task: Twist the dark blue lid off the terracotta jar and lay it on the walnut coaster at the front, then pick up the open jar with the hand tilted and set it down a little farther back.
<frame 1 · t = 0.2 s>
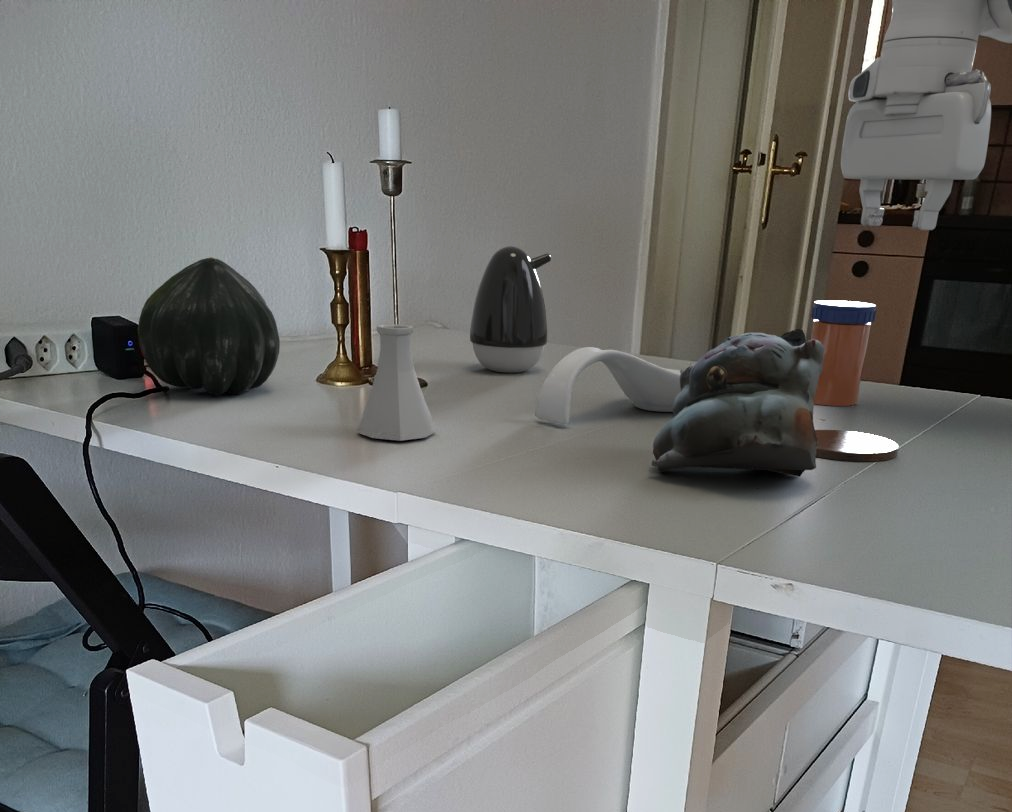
hand: (896, 227, 108), 19 cm above the table, tool pointing down, fingers open, 8 cm apart
spoon rest: (628, 414, 111), on the table
lucky cat figurine: (726, 473, 89), on the table
pump dispenser: (508, 371, 135), on the table
flask: (397, 436, 98), on the table
jar lid: (844, 307, 116), point 11 cm above the table, screwed on, not yet turned
coaster: (842, 449, 98), on the table
jar: (829, 400, 121), on the table
squash: (217, 391, 116), on the table
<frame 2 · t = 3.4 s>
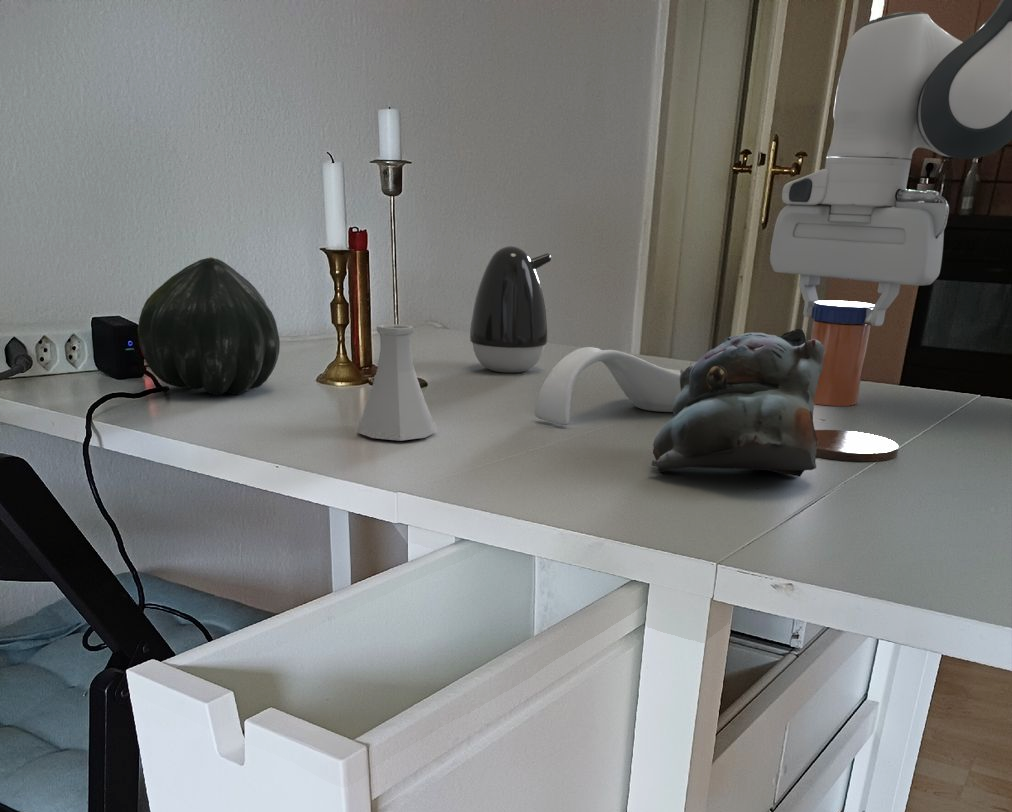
hand: (841, 321, 117), 9 cm above the table, tool pointing down, fingers closed on jar lid, 7 cm apart
jar lid: (844, 307, 116), point 11 cm above the table, screwed on, not yet turned, touching gripper
everything else where it was.
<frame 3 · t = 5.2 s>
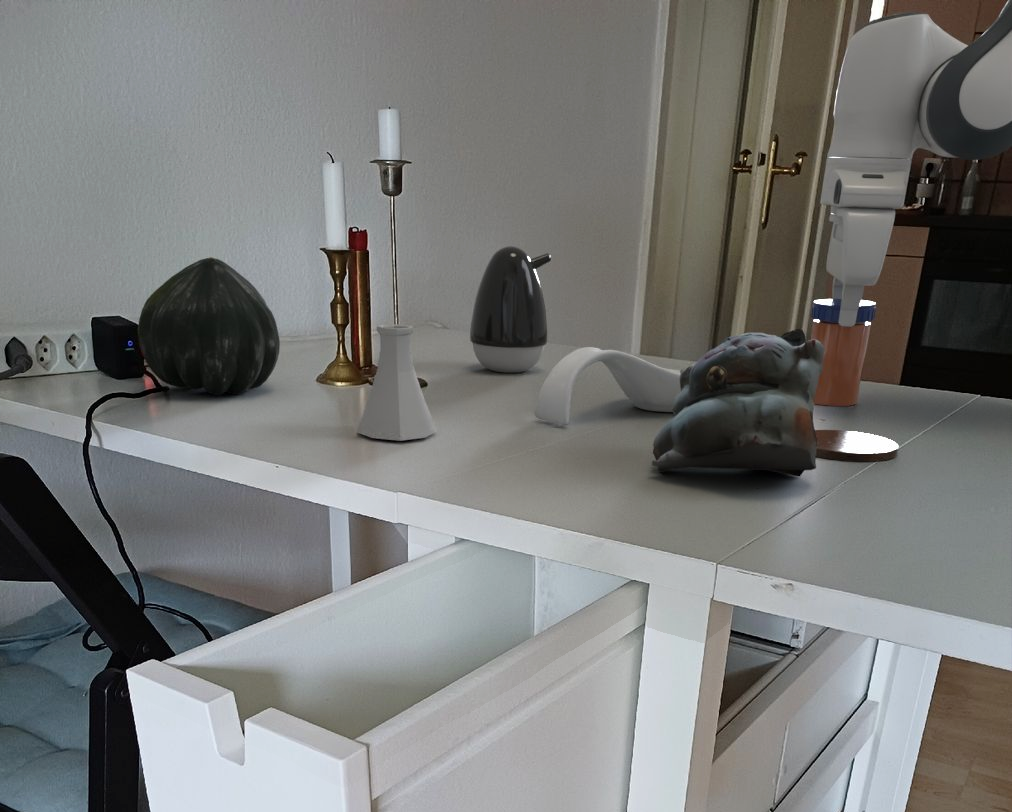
hand: (841, 321, 117), 9 cm above the table, tool pointing down, fingers closed on jar lid, 7 cm apart
jar lid: (844, 306, 116), point 11 cm above the table, off its thread, touching gripper
jar: (829, 400, 121), on the table, touching gripper
everything else where it was.
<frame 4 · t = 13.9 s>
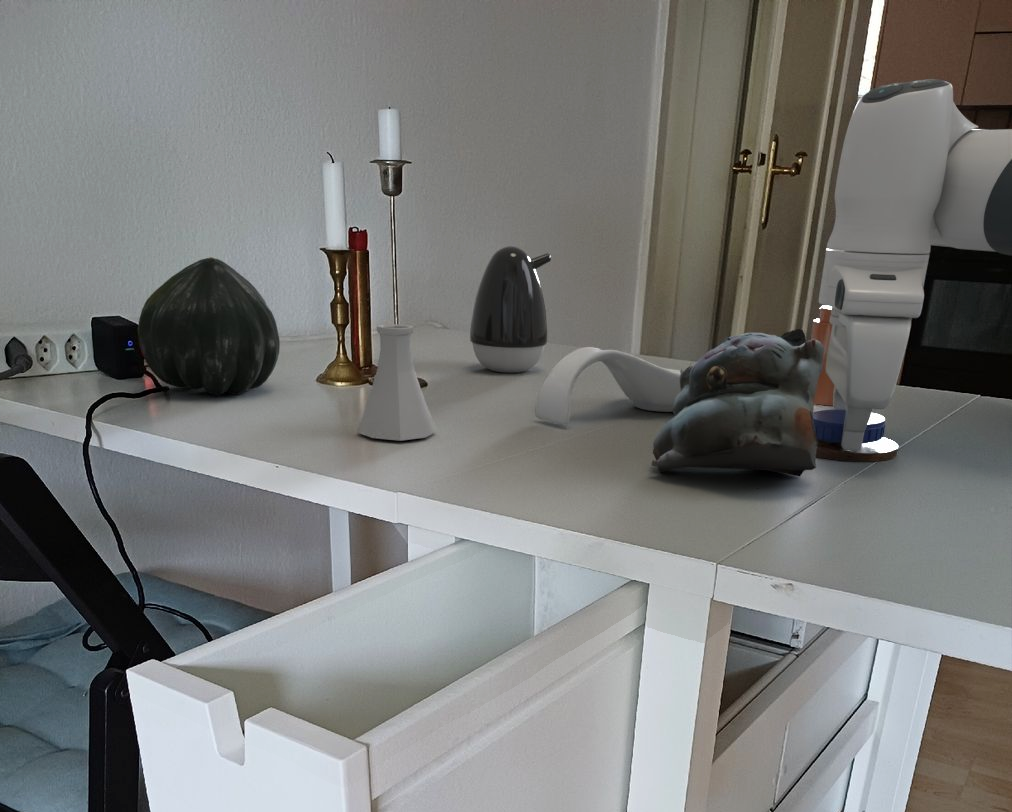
hand: (844, 439, 98), 1 cm above the table, tool pointing down, fingers closed on jar lid, 7 cm apart
jar lid: (846, 421, 97), point 3 cm above the table, off its thread, touching gripper
jar: (829, 400, 121), on the table
everything else where it was.
when the fingers open (2 cm above the table, at t = 27.7 s): jar lid drops 2 cm, resting on coaster.
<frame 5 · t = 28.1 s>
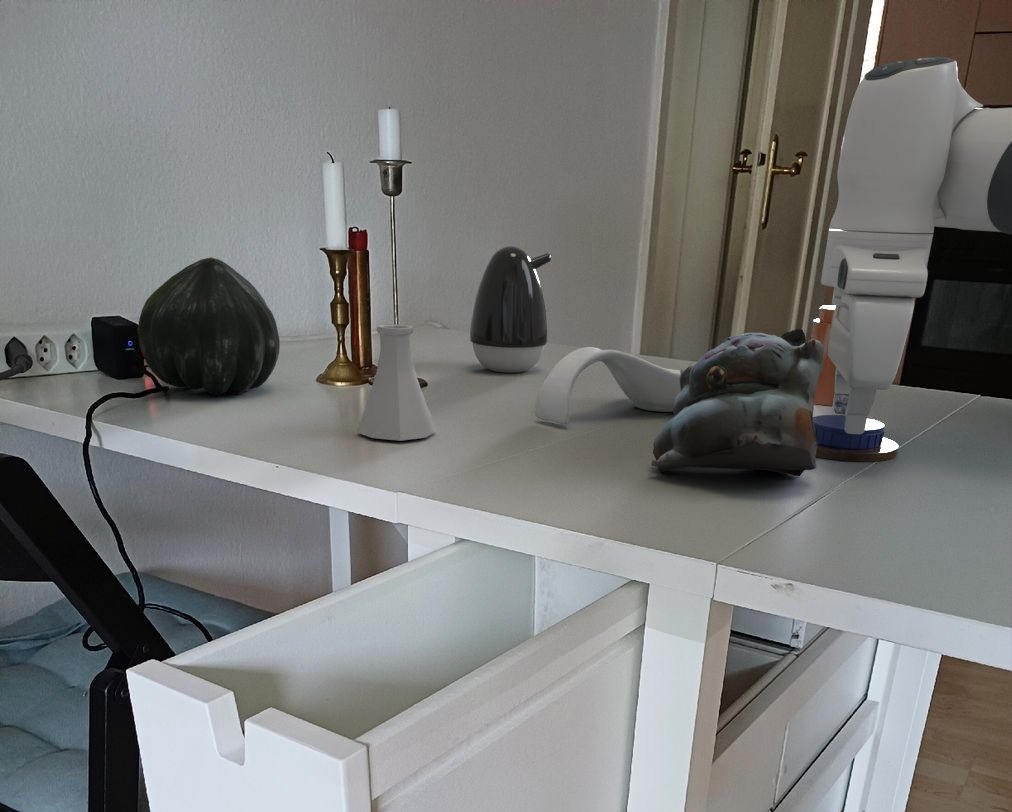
hand: (847, 422, 97), 3 cm above the table, tool pointing down, fingers open, 8 cm apart
jar lid: (846, 426, 97), point 2 cm above the table, off its thread, touching coaster
everything else where it was.
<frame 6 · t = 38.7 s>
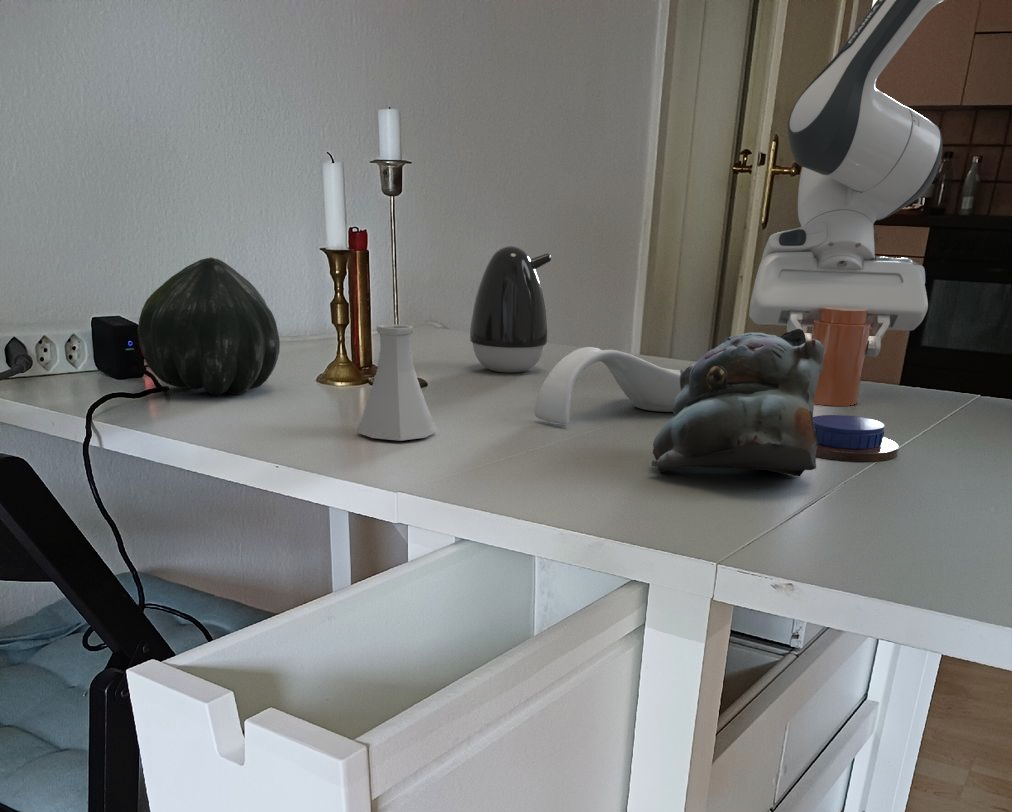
hand: (837, 352, 118), 6 cm above the table, tool tilted 45°, fingers closed on jar, 6 cm apart
jar: (829, 400, 121), on the table, touching gripper
everything else where it was.
when the fingers open (6 cm above the table, at t = 45.6 s): jar stays where it is, on the table.
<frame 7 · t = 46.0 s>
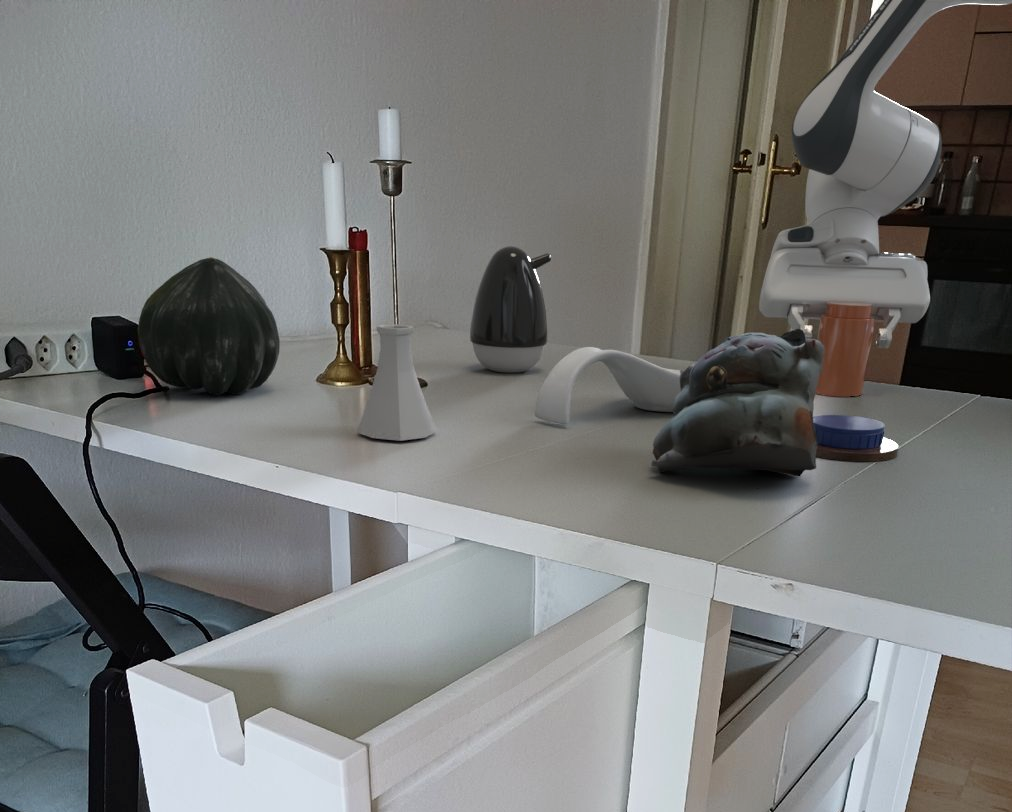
hand: (844, 343, 123), 6 cm above the table, tool tilted 45°, fingers open, 8 cm apart
jar: (835, 392, 127), on the table
everything else where it was.
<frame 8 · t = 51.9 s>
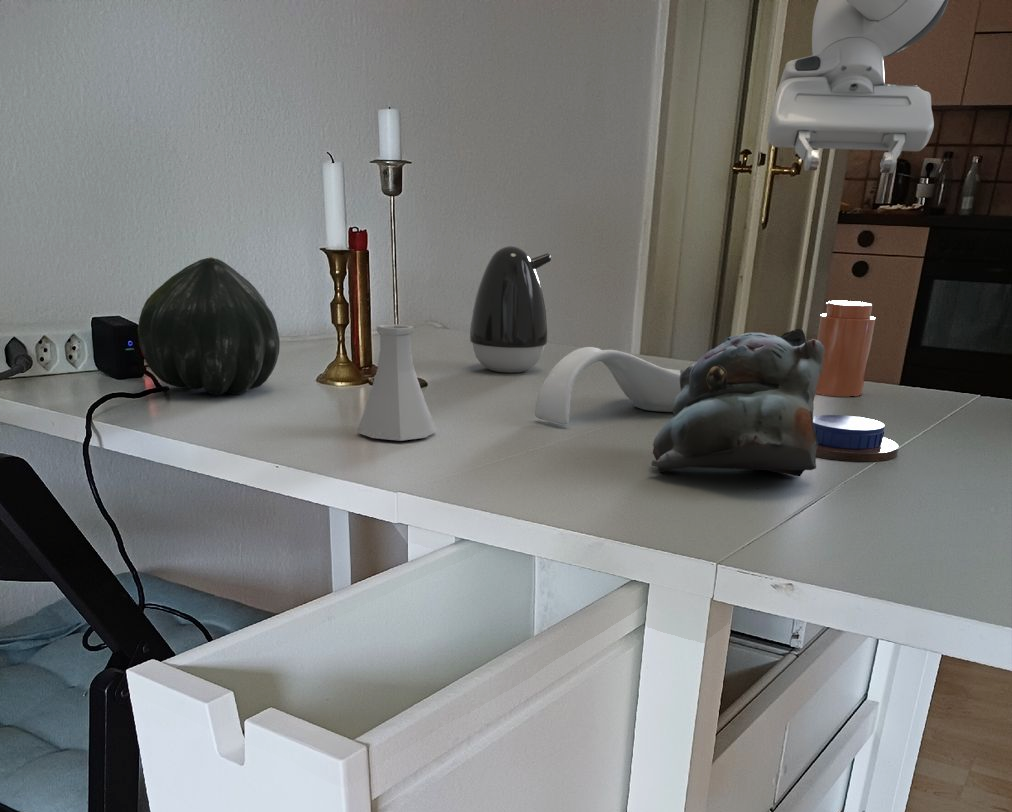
hand: (850, 167, 127), 25 cm above the table, tool tilted 45°, fingers open, 8 cm apart
nothing on the table moved.
at the end: jar lid inside the target area on the coaster (0.1 cm from its centre), point 2.2 cm above the coaster's base; jar inside the target area (0.1 cm from its centre), on the table; jar tilted 0° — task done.
